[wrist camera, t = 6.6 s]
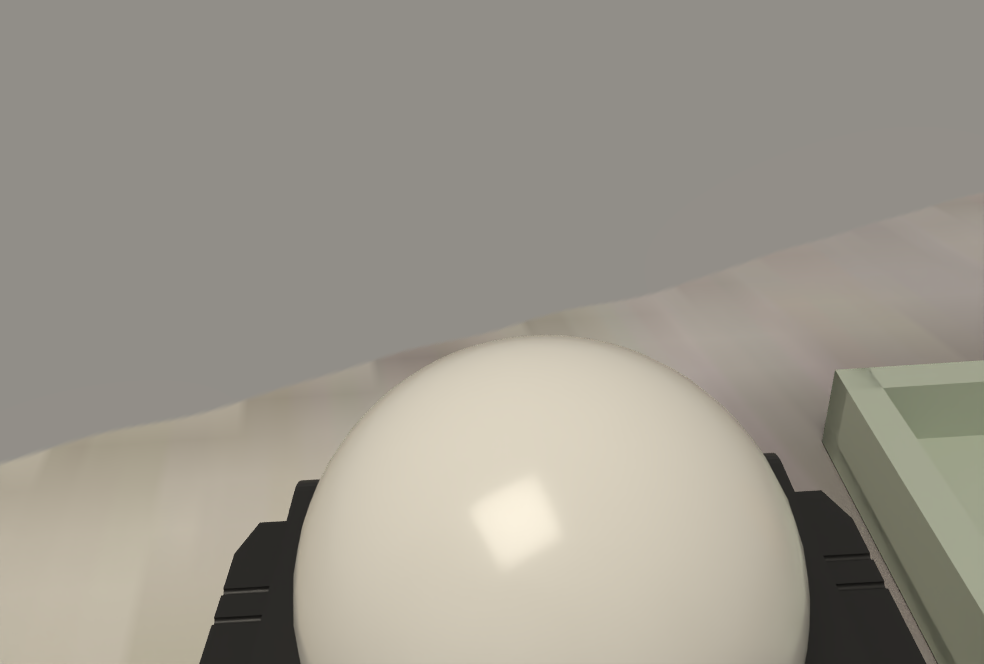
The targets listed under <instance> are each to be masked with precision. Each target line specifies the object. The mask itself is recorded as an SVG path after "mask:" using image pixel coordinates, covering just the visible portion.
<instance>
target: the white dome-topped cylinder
mask: <svg viewBox="0 0 984 664" xmlns="http://www.w3.org/2000/svg"><path fill="white" fill-rule="evenodd" d="M293 615H294V631H295V636H296V641H297V647H298V652H299V658H300V663H301V664H805V659H806V654H807V647H808V636H809V624H810V594H809V585H808V575H807V568H806V562H805V556H804V549H803V545H802V542H801V539H800V535H799V532H798V529H797V526H796V522H795V519H794V516H793V513H792V511H791V508H790V505H789V502H788V499H787V497H786V495H785V493H784V491H783V489H782V488H781V486H780V484H779V482H778V480H777V478H776V476H775V474H774V472H773V471H772V469H771V467H770V465H769V463H768V461H767V459H766V457H765V456H764V455H763V453H762V452H761V451H760V449H759V448H758V446H757V445H756V444H755V442H754V441H753V440H752V438H751V437H750V436H749V435H748V433H747V432H746V431H745V430H744V428H743V427H742V426H741V425H740V424H739V422H738V421H737V420H736V419H735V418H734V417H733V416H732V415H731V414H730V413H729V412H728V411H727V410H726V409H725V408H724V407H723V406H722V405H721V404H720V403H719V402H717V401H716V400H715V399H714V398H713V397H711V396H710V395H709V394H708V393H706V392H705V391H704V390H703V389H701V388H700V387H699V386H698V385H696V384H695V383H694V382H693V381H691V380H690V379H688V378H687V377H685V376H684V375H682V374H680V373H679V372H677V371H675V370H674V369H672V368H670V367H668V366H666V365H664V364H662V363H660V362H658V361H656V360H654V359H652V358H650V357H648V356H646V355H643V354H641V353H639V352H636V351H633V350H631V349H628V348H625V347H622V346H619V345H615V344H612V343H608V342H604V341H599V340H594V339H588V338H580V337H572V336H560V335H530V336H520V337H512V338H506V339H500V340H495V341H490V342H486V343H482V344H478V345H474V346H471V347H468V348H465V349H462V350H459V351H457V352H454V353H452V354H450V355H447V356H445V357H443V358H440V359H438V360H437V361H435V362H433V363H431V364H429V365H427V366H425V367H424V368H422V369H421V370H419V371H417V372H416V373H414V374H413V375H411V376H409V377H408V378H407V379H405V380H404V381H402V382H401V383H399V384H398V385H396V386H395V387H394V388H392V389H391V390H390V391H389V392H388V393H386V394H385V395H384V396H383V397H382V398H381V399H380V400H379V401H378V402H377V403H376V404H375V405H374V406H373V407H372V408H371V409H370V410H369V411H368V412H367V413H366V414H365V415H364V416H363V417H362V418H361V419H360V420H359V421H358V422H357V423H356V424H355V426H354V427H353V428H352V429H351V431H350V432H349V433H348V435H347V436H346V438H345V439H344V440H343V442H342V443H341V445H340V446H339V448H338V449H337V451H336V452H335V454H334V455H333V457H332V458H331V460H330V461H329V463H328V465H327V467H326V469H325V471H324V473H323V475H322V477H321V479H320V481H319V483H318V485H317V487H316V490H315V492H314V495H313V497H312V500H311V502H310V505H309V508H308V511H307V514H306V517H305V520H304V523H303V526H302V530H301V535H300V540H299V545H298V550H297V556H296V562H295V569H294V577H293Z"/></svg>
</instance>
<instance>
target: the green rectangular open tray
mask: <svg viewBox="0 0 984 664" xmlns="http://www.w3.org/2000/svg"><path fill="white" fill-rule="evenodd" d="M822 442H823V444H824V446H825V448H826V450H827V452H828V454H829V456H830V458H831V459H832V461H833V463H834V465H835V467H836V469H837V471H838V473H839V475H840V477H841V479H842V481H843V482H844V484H845V486H846V488H847V490H848V492H849V494H850V496H851V498H852V500H853V502H854V504H855V505H856V507H857V509H858V511H859V513H860V515H861V517H862V519H863V521H864V523H865V525H866V526H867V528H868V530H869V532H870V534H871V536H872V538H873V540H874V542H875V544H876V546H877V548H878V549H879V551H880V553H881V555H882V557H883V559H884V561H885V563H886V565H887V567H888V569H889V571H890V572H891V574H892V576H893V578H894V580H895V582H896V584H897V586H898V588H899V590H900V592H901V594H902V595H903V597H904V599H905V601H906V603H907V605H908V607H909V609H910V611H911V613H912V615H913V617H914V618H915V620H916V622H917V624H918V626H919V628H920V630H921V632H922V634H923V636H924V638H925V640H926V641H927V643H928V645H929V647H930V649H931V651H932V653H933V655H934V657H935V659H936V661H937V663H938V664H984V360H983V361H967V362H952V363H936V364H920V365H905V366H889V367H873V368H857V369H842V370H835V373H834V379H833V384H832V390H831V395H830V401H829V406H828V412H827V417H826V423H825V428H824V434H823V439H822Z"/></svg>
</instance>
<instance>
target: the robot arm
mask: <svg viewBox="0 0 984 664" xmlns="http://www.w3.org/2000/svg"><path fill="white" fill-rule="evenodd" d="M763 455H764V456H765V457H766V459H767V461H768V463H769V465H770V467H771V469H772V471H773V472H774V474H775V476H776V478H777V480H778V482H779V484H780V486H781V488H782V489H783V491H784V493H785V495H786V497H787V499H788V502H789V505H790V508H791V511H792V513H793V516H794V519H795V522H796V526H797V529H798V532H799V535H800V539H801V542H802V545H803V549H804V556H805V562H806V568H807V575H808V585H809V594H810V624H809V636H808V647H807V654H806V659H805V664H926V662H925V660H924V658H923V657H922V655H921V653H920V651H919V649H918V647H917V645H916V643H915V641H914V639H913V637H912V635H911V633H910V631H909V629H908V627H907V625H906V623H905V621H904V619H903V617H902V615H901V613H900V611H899V609H898V607H897V605H896V603H895V601H894V600H893V598H892V596H891V594H890V592H889V590H888V589H886V588H885V586H884V580H883V578H882V576H881V574H880V572H879V570H878V568H877V566H876V564H875V562H874V560H871V559H870V552H869V550H868V548H867V546H866V545H865V543H864V541H863V539H862V537H861V535H860V533H859V531H858V529H857V527H856V525H855V523H854V521H853V519H852V518H851V517H850V516H849V515H848V514H847V513H845V512H844V511H843V510H842V509H841V508H840V507H839V506H838V505H837V504H836V503H834V502H833V501H832V500H831V499H830V498H829V497H828V496H827V495H826V494H825V493H823V492H822V491H821V490H820V491H803V492H794V489H793V487H792V485H791V483H790V480H789V478H788V476H787V474H786V471H785V469H784V467H783V465H782V463H781V461H780V459H779V457H778V456H777V455H776V454H775V453H764V454H763ZM319 481H320V479H319V480H302V481H299V482H298V484H297V486H296V488H295V491H294V495H293V499H292V503H291V506H290V510H289V514H288V518H287V521H280V522H263V523H259V524H258V526H257V527H256V528H255V529H254V531H253V532H252V533H251V534H250V535H249V537H248V538H247V539H246V540H245V542H244V543H243V544H242V545H241V546H240V548H239V549H238V550H237V551H236V553H235V554H234V557H233V560H232V563H231V566H230V570H229V573H228V576H227V579H226V582H225V585H224V588H223V589H224V594H223V596H221V598H220V601H219V604H218V607H217V610H216V613H215V617H214V619H215V622H214V625H212V626H211V629H210V632H209V635H208V639H207V642H206V645H205V648H204V651H203V654H202V657H201V660H200V664H301V663H300V658H299V652H298V647H297V641H296V636H295V631H294V615H293V577H294V569H295V562H296V556H297V550H298V545H299V540H300V535H301V530H302V526H303V523H304V520H305V517H306V514H307V511H308V508H309V505H310V502H311V500H312V497H313V495H314V492H315V490H316V487H317V485H318V483H319Z"/></svg>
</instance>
